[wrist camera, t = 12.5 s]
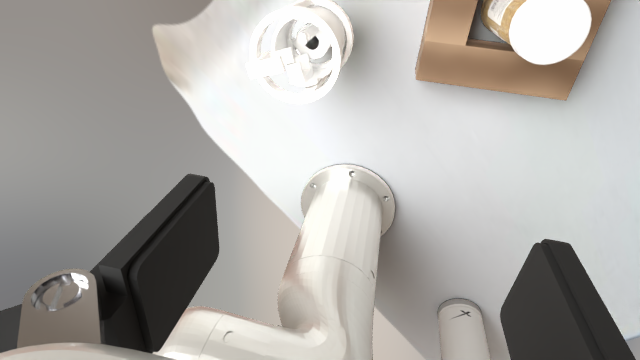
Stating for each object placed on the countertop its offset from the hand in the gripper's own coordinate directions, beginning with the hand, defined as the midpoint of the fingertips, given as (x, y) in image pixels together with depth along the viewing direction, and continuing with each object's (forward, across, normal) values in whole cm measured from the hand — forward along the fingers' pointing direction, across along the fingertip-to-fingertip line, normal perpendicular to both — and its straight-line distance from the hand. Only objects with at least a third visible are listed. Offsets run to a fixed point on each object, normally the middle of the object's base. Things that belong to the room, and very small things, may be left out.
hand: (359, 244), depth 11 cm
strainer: (+34, +7, 0) cm, 34 cm away
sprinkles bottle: (+34, -10, -4) cm, 35 cm away
